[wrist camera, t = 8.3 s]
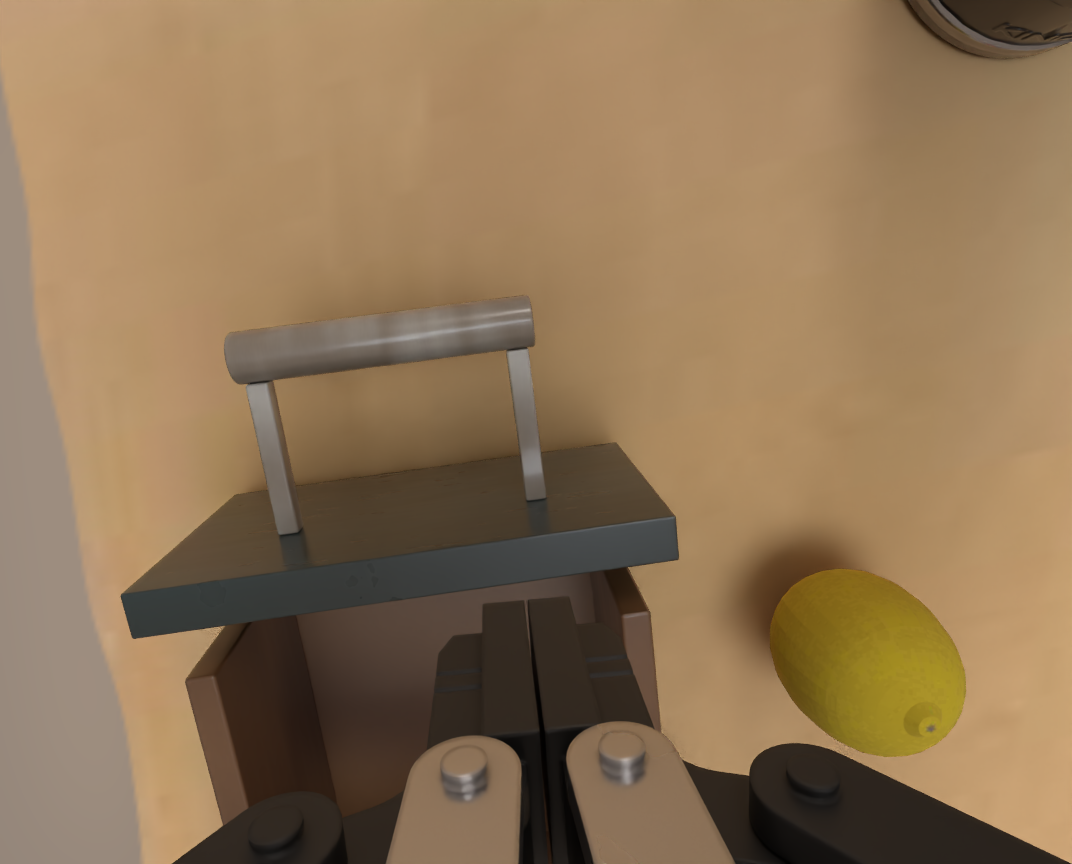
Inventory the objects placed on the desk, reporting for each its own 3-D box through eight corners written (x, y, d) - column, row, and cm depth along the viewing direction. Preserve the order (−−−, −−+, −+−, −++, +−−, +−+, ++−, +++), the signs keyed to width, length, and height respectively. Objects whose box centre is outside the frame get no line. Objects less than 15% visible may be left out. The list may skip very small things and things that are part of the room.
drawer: (197, 331, 23) (52, 359, 15) (600, 280, 24) (657, 282, 16) (319, 861, 28) (257, 1085, 20) (652, 808, 28) (715, 1005, 21)
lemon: (724, 654, 28) (816, 798, 20) (759, 527, 27) (871, 628, 19) (850, 672, 29) (986, 819, 21) (889, 549, 28) (1049, 656, 20)
